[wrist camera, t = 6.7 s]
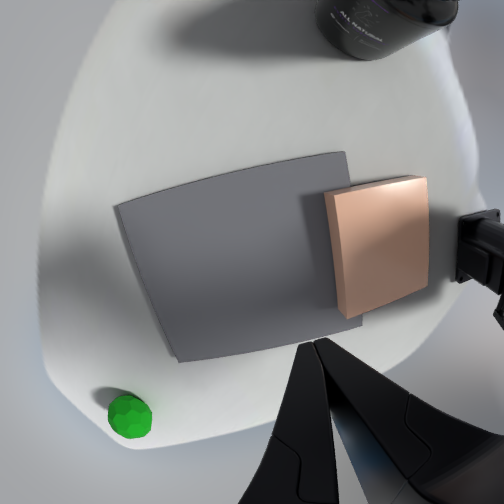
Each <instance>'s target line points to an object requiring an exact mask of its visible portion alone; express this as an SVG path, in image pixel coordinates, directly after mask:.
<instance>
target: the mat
mask: <svg viewBox="0 0 504 504" xmlns="http://www.w3.org/2000/svg"><path fill="white" fill-rule="evenodd" d="M348 187H351V183H350V177H349V171H348V165H347V159H346V154H345V151H341V152H334V153H328V154H322V155H315V156H310V157H304V158H298V159H293V160H288V161H282V162H277V163H272V164H267V165H263V166H258V167H253V168H249V169H244V170H240V171H236V172H231V173H227V174H223V175H219V176H215V177H211V178H207V179H203V180H199V181H196V182H192V183H188V184H185V185H181V186H178V187H174V188H171V189H167V190H164V191H160V192H157V193H154V194H150V195H147V196H144V197H141V198H138V199H135V200H132V201H128V202H125V203H122V204H120V205H118V208H119V212H120V215H121V218H122V222H123V225H124V228H125V231H126V234H127V237H128V240H129V243H130V246H131V249H132V252H133V255H134V258H135V261H136V263H137V266H138V269H139V272H140V274H141V277H142V280H143V282H144V285H145V287H146V290H147V292H148V295H149V297H150V300H151V302H152V305H153V307H154V310H155V312H156V314H157V317H158V319H159V321H160V324H161V326H162V328H163V330H164V332H165V335H166V337H167V339H168V341H169V343H170V346H171V348H172V350H173V352H174V354H175V356H176V358H177V360H178V362H179V363H181V362H190V361H197V360H205V359H212V358H219V357H225V356H232V355H238V354H244V353H249V352H255V351H260V350H265V349H270V348H275V347H280V346H285V345H289V344H294V343H298V342H303V341H307V340H311V339H315V338H319V337H323V336H327V335H331V334H335V333H339V332H342V331H346V330H350V329H353V328H357V327H360V326H362V314H360V315H357V316H355V317H352V318H349V319H346V318H345V316H344V315H343V314H342V313H341V312H340V311H339V310H338V301H337V290H336V280H335V270H334V261H333V253H332V245H331V237H330V230H329V223H328V216H327V209H326V203H325V197H324V192H329V191H334V190H338V189H343V188H348Z"/></svg>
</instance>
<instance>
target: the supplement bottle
mask: <svg viewBox="0 0 504 504" xmlns="http://www.w3.org/2000/svg"><path fill="white" fill-rule="evenodd" d="M458 1H459V0H318V2H317V4H316V8H315V17H316V21H317V24H318V26H319V28H320V30H321V32H322V33H323V35H324V36H325V37H326V38H327V39H328V40H329V41H330V42H331V43H332V44H333V45H334V46H335V47H337V48H338V49H340V50H341V51H343V52H345V53H347V54H349V55H351V56H353V57H356V58H360V59H365V60H378V59H382V58H385V57H387V56H389V55H391V54H393V53H395V52H397V51H398V50H400V49H402V48H404V47H406V46H408V45H410V44H412V43H414V42H416V41H417V40H419V39H421V38H423V37H426V36H428V35H430V34H432V33H434V32H436V31H438V30H440V29H442V28H444V27H446V26H448V25H450V24H451V23H452V22H453V21H454V20H455V18H456V16H457V13H458Z"/></svg>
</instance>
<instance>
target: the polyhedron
mask: <svg viewBox="0 0 504 504" xmlns="http://www.w3.org/2000/svg"><path fill="white" fill-rule="evenodd" d="M108 422H109V424H110V425H111V427H112V429H113V430H114V431H115V432H116V433H117V434H119V435H121V436H123V437H125V438H128V439H132V438H140V437H144V436H145V435H146V434H147V433H148V432H149V431H150V430H151V424H152V412H151V410H150V409H149V407H148V405H147V404H145V403H144V402H142V401H140V400H138V399H136V398H135V397H133V396H131V395H127V396H120V397H118V398H116V399H115V400H114V401H113V402H111V403H110V405H109V410H108Z"/></svg>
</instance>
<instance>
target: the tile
mask: <svg viewBox="0 0 504 504" xmlns="http://www.w3.org/2000/svg"><path fill="white" fill-rule="evenodd" d="M324 197H325V203H326V209H327V216H328V223H329V230H330V237H331V245H332V253H333V261H334V270H335V280H336V290H337V301H338V310H339V311H340V312H341V313H342V314H343V315H344V316H345V318H346V319H349V318H352V317H355V316H357V315H360V314H363V313H365V312H368V311H370V310H373V309H375V308H378V307H380V306H383V305H385V304H388V303H390V302H393V301H395V300H397V299H400V298H402V297H404V296H407V295H409V294H411V293H413V292H416V291H418V290H420V289H422V288H425V287H427V285H428V269H429V209H428V192H427V180H426V177H422V176H415V175H411V176H406V177H400V178H395V179H389V180H384V181H379V182H373V183H368V184H363V185H358V186H353V187H348V188H343V189H338V190H334V191H329V192H324Z"/></svg>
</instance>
